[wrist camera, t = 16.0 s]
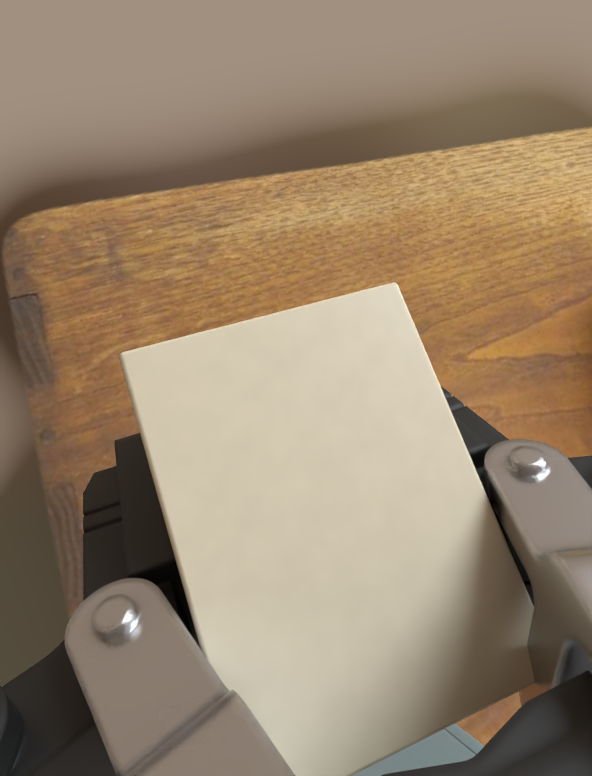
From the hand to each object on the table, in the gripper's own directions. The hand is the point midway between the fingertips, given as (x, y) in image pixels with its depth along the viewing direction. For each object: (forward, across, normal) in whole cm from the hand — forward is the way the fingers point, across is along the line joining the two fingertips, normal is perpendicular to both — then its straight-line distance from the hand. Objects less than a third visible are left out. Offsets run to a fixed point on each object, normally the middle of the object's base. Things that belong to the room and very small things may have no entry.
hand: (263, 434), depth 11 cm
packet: (+2, 0, +5) cm, 5 cm away
